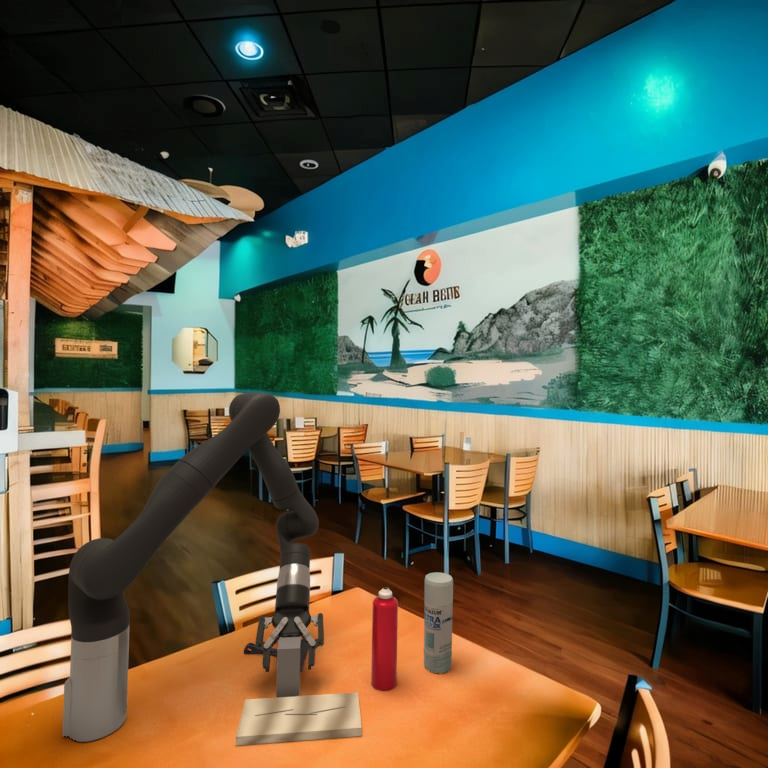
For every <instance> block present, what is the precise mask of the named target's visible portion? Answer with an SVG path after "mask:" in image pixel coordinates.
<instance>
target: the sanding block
mask: <svg viewBox="0 0 768 768" xmlns="http://www.w3.org/2000/svg"><path fill="white" fill-rule="evenodd" d="M301 640H302V637H301V636H300V637H286V638H279V640H278V642H277V648H276V649H277V656H276V685H275V686H276V691H275V692H276V693H275V695H276V696H275V698H278V697H294V696H300V691H301V672H300V662H301Z"/></svg>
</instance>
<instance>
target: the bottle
mask: <svg viewBox="0 0 768 768" xmlns="http://www.w3.org/2000/svg"><path fill="white" fill-rule="evenodd" d="M398 610H399V602H398V599H397V598H396V597H395V596H393V592H392V590H390V588H389V587H387V586H385V587H383V588H382V589H381V590H379V591H378V595H376V597H374V598H373V600H372V615H371V617H372V619H371V621H372V622H371V623H372V624H371V665H370V666H371V673H370V675H371V676H370V678H371V679H370V681H371V682H370V683H371V684H370V685H371V687H373V688H374V689H375V690H378V691H381V692H386V691H391V690H394V689H395V688H396V687H397V682H398V681H397V680H398V679H397V677H398V672H397V671H398V628H399V627H398V624H399V623H398V622H399V621H398V620H399V619H398V617H399V611H398Z"/></svg>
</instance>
